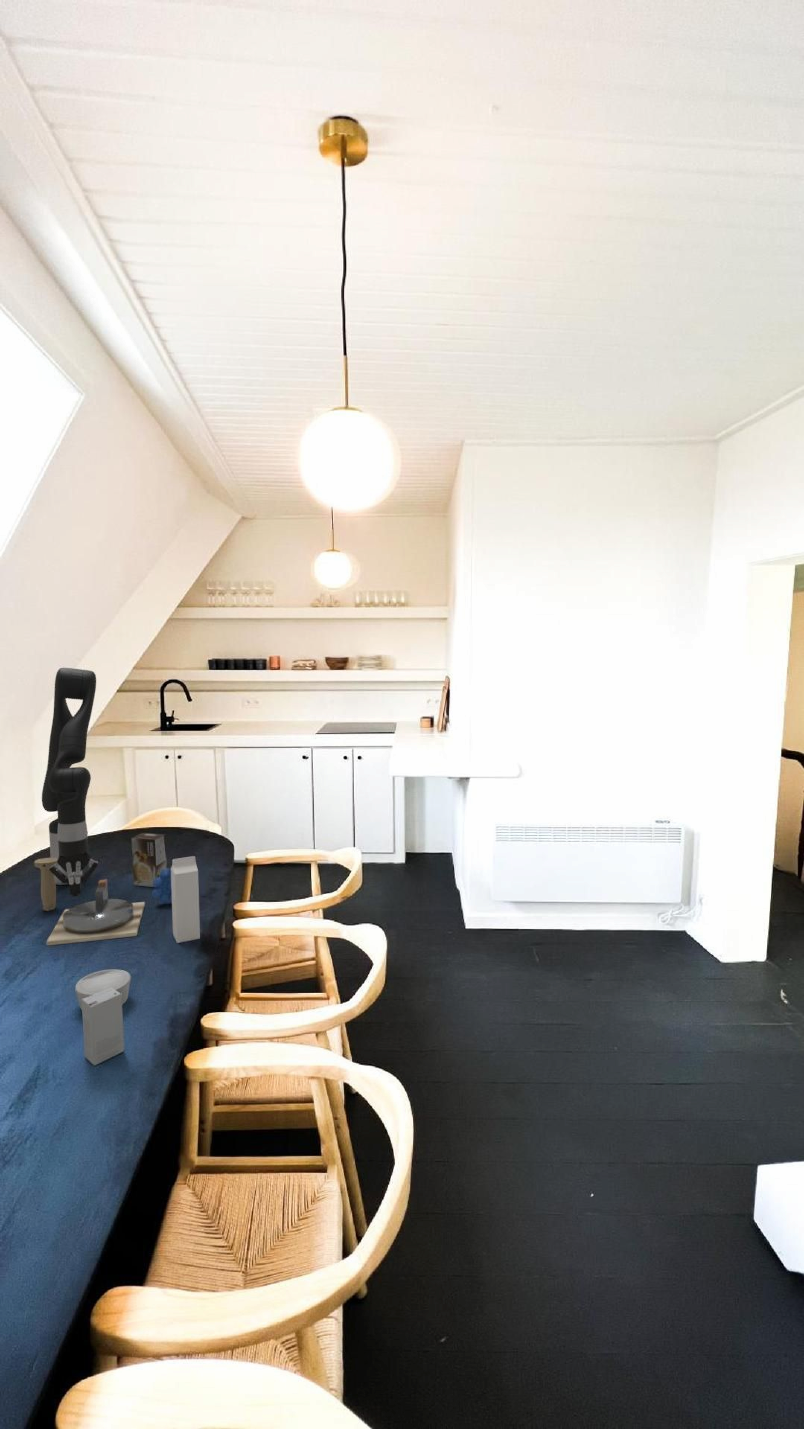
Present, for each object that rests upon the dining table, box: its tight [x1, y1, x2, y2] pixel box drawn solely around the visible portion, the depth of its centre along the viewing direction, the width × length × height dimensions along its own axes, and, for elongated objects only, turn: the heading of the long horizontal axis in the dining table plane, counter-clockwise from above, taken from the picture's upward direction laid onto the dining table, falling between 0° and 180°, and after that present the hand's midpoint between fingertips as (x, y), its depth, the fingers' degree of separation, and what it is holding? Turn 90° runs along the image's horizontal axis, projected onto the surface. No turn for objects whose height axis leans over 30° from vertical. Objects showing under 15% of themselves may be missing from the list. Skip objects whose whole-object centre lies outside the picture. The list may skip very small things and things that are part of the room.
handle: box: [34, 857, 58, 912], centre depth 195 cm, size 5×6×15 cm
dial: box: [63, 878, 134, 933], centre depth 185 cm, size 19×18×8 cm
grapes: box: [151, 867, 172, 905], centre depth 200 cm, size 12×7×12 cm, turn 112°
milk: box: [170, 855, 201, 944], centre depth 176 cm, size 6×6×22 cm
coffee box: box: [131, 832, 168, 888], centre depth 216 cm, size 9×6×16 cm
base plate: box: [46, 901, 146, 947], centre depth 185 cm, size 22×22×1 cm
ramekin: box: [74, 968, 132, 1010], centre depth 144 cm, size 11×11×5 cm
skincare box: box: [81, 988, 125, 1066], centre depth 126 cm, size 6×4×12 cm
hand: (75, 895), depth 188 cm, fingers closed
